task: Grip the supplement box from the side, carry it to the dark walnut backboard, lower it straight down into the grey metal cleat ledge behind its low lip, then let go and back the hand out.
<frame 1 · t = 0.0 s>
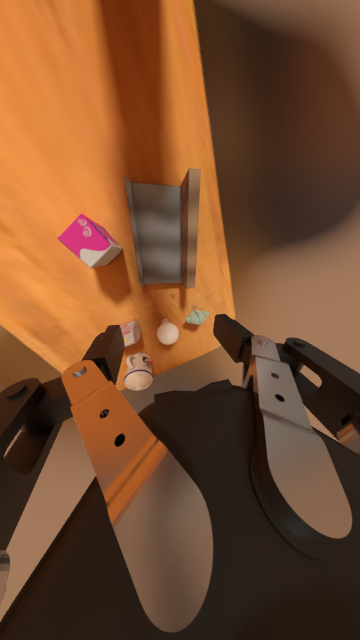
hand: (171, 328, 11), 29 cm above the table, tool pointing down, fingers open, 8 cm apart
lightbulb: (164, 320, 44), on the table
pale green lumpy piece: (193, 312, 45), on the table
teacup with lid: (138, 358, 49), on the table
cleat board: (159, 242, 33), on the table
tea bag: (128, 327, 42), on the table
supplement box: (105, 246, 31), on the table
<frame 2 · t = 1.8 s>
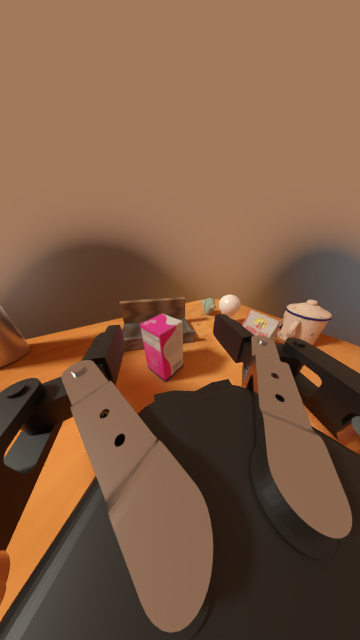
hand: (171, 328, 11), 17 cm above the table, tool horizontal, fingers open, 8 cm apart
lightbulb: (224, 326, 44), on the table
pale green lumpy piece: (207, 314, 52), on the table
teacup with lid: (291, 340, 37), on the table
cleat board: (157, 334, 40), on the table
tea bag: (251, 349, 34), on the table
supplement box: (165, 367, 29), on the table
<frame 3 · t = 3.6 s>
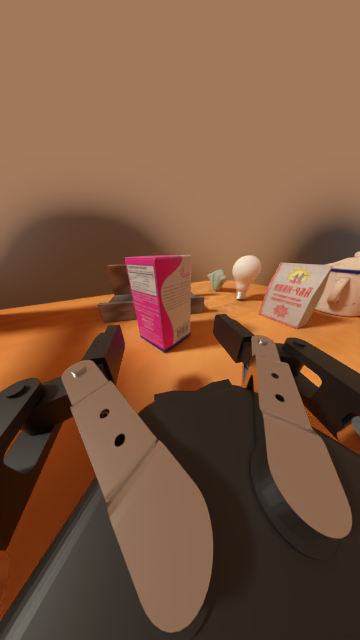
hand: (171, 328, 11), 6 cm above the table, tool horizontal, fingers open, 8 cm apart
lightbulb: (239, 300, 36), on the table
pale green lumpy piece: (216, 291, 44), on the table
teacup with lid: (328, 311, 29), on the table
cleat board: (155, 306, 31), on the table
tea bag: (280, 319, 25), on the table
supplement box: (165, 337, 20), on the table
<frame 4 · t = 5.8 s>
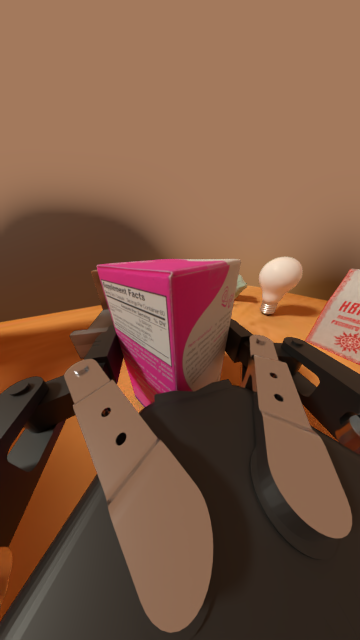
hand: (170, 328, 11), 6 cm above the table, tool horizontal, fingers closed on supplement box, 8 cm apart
lightbulb: (265, 314, 27), on the table
pale green lumpy piece: (231, 300, 36), on the table
cleat board: (157, 325, 23), on the table
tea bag: (341, 351, 17), on the table
supplement box: (176, 394, 12), on the table, touching gripper
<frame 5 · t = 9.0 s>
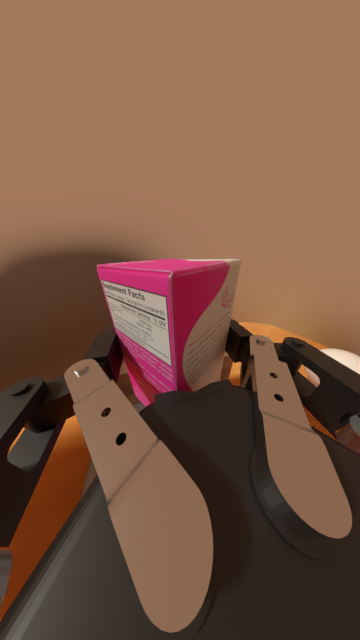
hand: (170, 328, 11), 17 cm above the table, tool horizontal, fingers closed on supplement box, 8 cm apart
lightbulb: (308, 403, 22), on the table
cleat board: (177, 440, 17), on the table
supplement box: (176, 394, 12), point 11 cm above the table, touching gripper
when the fingers open (9 cm above the table, at t = 12.2 s): supplement box stays where it is, resting on cleat board.
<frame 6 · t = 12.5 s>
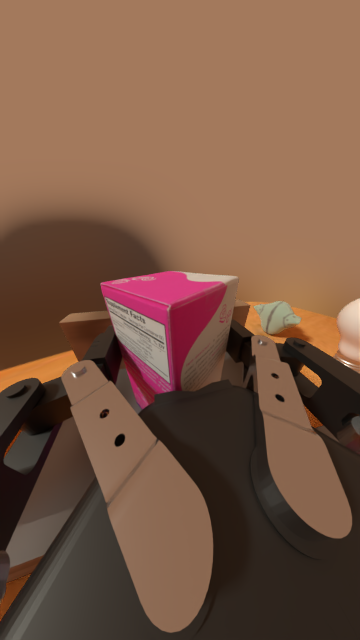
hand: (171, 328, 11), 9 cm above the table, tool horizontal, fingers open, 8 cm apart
lightbulb: (339, 372, 18), on the table
pale green lumpy piece: (269, 334, 26), on the table
cleat board: (177, 409, 13), on the table
supplement box: (176, 401, 13), point 2 cm above the table, touching cleat board, gripper
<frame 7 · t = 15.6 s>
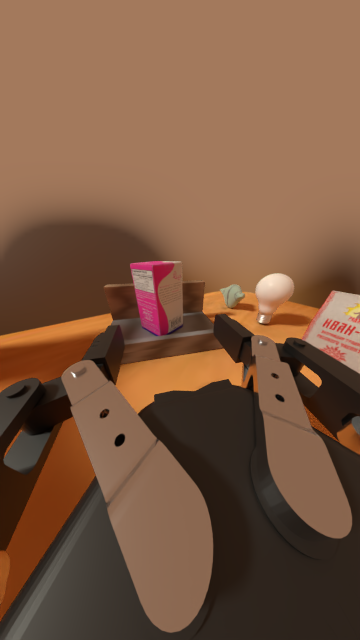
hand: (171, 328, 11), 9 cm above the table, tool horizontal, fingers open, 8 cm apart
lightbulb: (261, 323, 30), on the table
pale green lumpy piece: (230, 308, 38), on the table
cleat board: (163, 335, 26), on the table
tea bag: (326, 361, 20), on the table
supplement box: (162, 328, 25), point 2 cm above the table, touching cleat board
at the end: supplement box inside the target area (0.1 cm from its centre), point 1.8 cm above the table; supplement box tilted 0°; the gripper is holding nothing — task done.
